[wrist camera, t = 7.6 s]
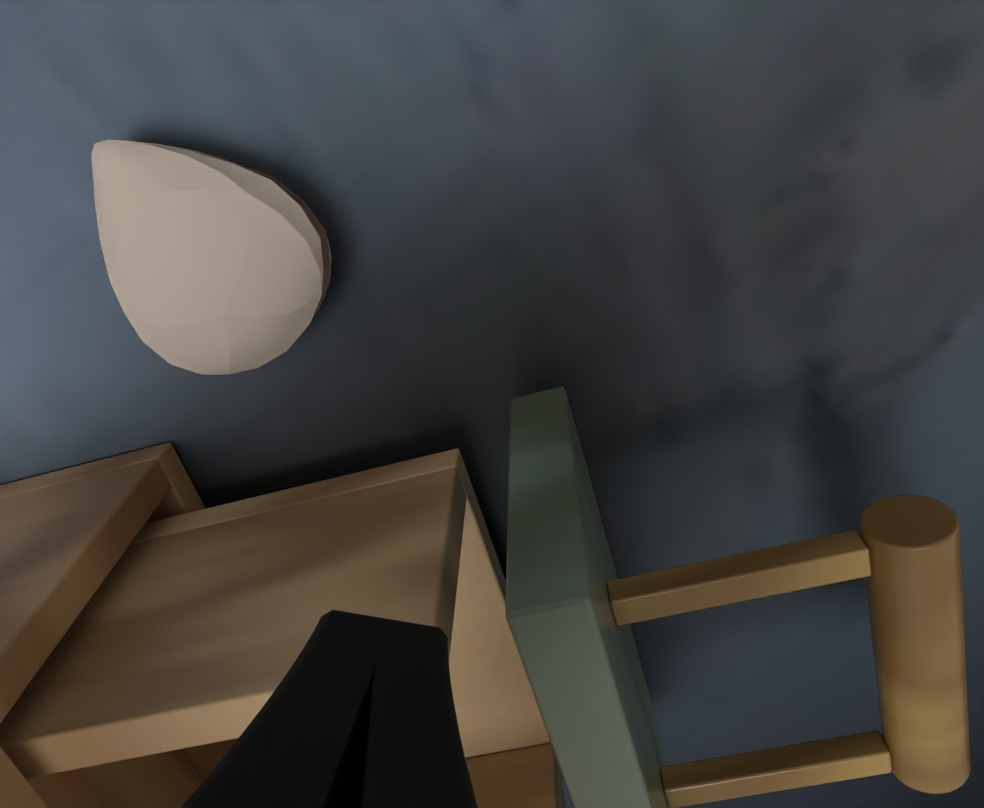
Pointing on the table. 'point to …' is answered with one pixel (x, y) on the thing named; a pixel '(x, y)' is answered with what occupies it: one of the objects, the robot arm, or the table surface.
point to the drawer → (476, 636)
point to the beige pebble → (207, 255)
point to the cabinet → (70, 560)
